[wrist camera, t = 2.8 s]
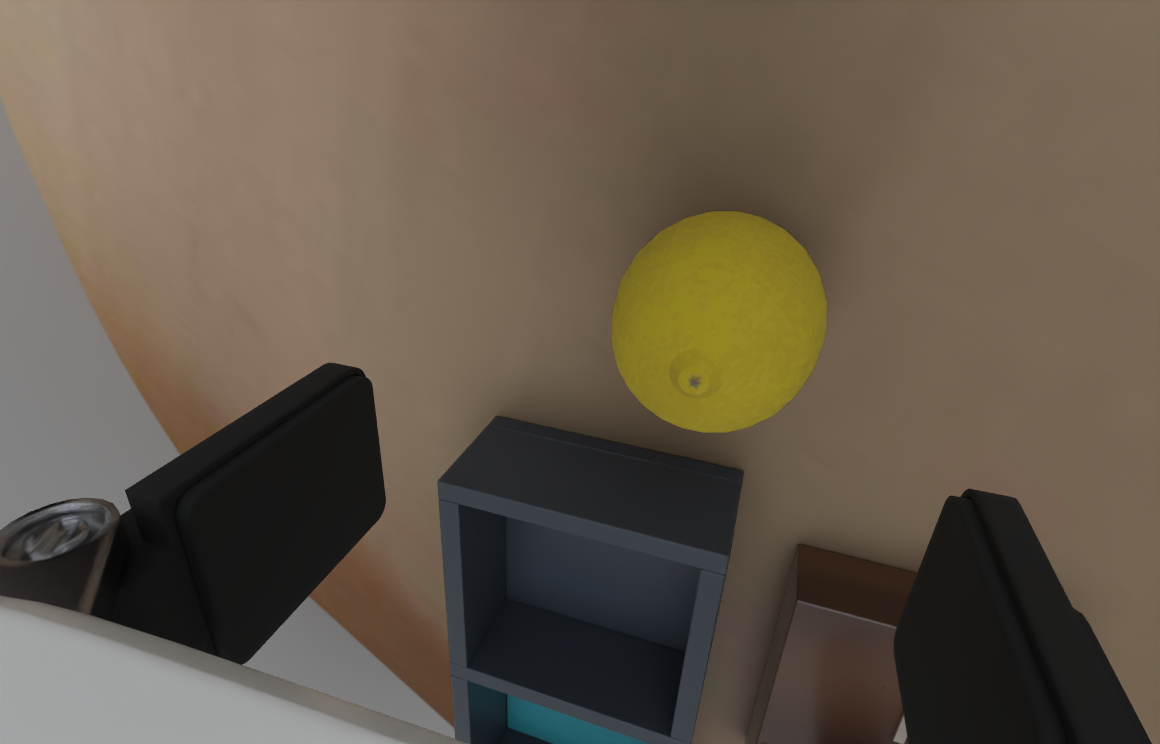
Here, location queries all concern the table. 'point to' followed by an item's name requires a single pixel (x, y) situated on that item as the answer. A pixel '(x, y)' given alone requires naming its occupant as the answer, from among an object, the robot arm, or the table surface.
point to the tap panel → (834, 655)
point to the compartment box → (580, 586)
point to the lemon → (719, 321)
